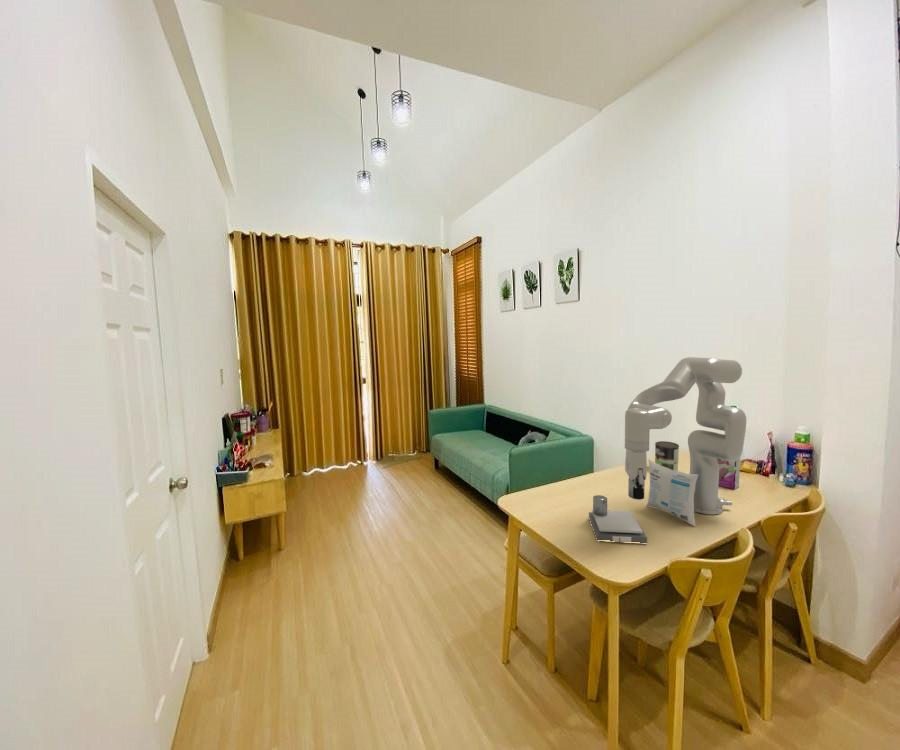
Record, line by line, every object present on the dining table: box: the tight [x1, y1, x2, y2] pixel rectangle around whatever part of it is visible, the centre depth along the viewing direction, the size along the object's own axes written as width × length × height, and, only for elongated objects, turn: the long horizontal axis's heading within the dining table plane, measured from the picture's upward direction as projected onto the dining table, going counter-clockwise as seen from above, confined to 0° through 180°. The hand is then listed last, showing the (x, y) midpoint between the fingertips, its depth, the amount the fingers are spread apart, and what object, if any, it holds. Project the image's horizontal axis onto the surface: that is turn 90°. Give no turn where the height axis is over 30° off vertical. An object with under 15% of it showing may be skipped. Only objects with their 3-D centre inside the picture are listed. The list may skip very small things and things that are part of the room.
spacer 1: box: [592, 494, 608, 517], centre depth 139 cm, size 5×5×6 cm
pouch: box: [646, 459, 698, 528], centre depth 142 cm, size 8×19×20 cm, turn 24°
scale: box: [588, 509, 648, 544], centre depth 134 cm, size 16×17×4 cm
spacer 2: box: [627, 477, 646, 501], centre depth 128 cm, size 5×5×6 cm
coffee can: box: [654, 440, 680, 472], centre depth 184 cm, size 10×10×14 cm
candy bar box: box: [715, 457, 741, 491], centre depth 166 cm, size 11×5×16 cm, turn 34°
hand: (635, 494), depth 128 cm, fingers closed on spacer 2, 5 cm apart
